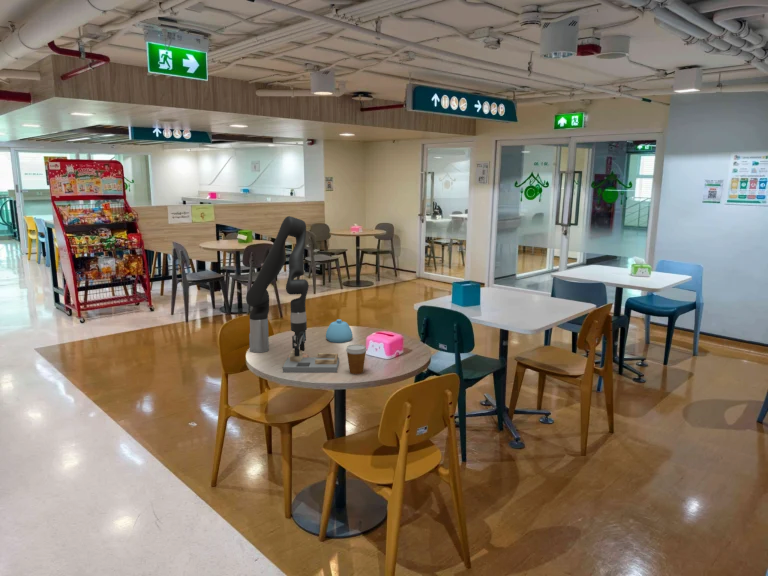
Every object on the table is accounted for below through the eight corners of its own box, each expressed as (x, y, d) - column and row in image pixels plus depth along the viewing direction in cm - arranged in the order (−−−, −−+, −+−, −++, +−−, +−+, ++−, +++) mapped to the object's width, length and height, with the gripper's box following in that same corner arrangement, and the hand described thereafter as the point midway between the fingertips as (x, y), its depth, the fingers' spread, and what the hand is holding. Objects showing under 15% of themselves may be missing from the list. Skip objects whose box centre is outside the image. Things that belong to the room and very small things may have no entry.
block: (289, 361, 268) (289, 353, 268) (292, 358, 273) (292, 350, 273) (300, 361, 268) (300, 353, 267) (302, 358, 273) (302, 350, 272)
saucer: (286, 360, 277) (286, 358, 277) (289, 354, 287) (289, 352, 286) (307, 361, 277) (306, 358, 277) (309, 355, 287) (309, 352, 287)
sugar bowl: (324, 343, 308) (323, 322, 306) (327, 336, 323) (327, 316, 321) (351, 343, 308) (351, 323, 306) (353, 336, 322) (353, 316, 320)
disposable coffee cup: (347, 368, 266) (347, 343, 264) (367, 369, 266) (367, 344, 263) (344, 374, 257) (344, 349, 255) (365, 375, 256) (365, 350, 254)
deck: (282, 372, 260) (282, 367, 260) (288, 362, 275) (287, 357, 274) (336, 372, 260) (336, 367, 260) (339, 362, 275) (339, 357, 275)
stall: (315, 364, 264) (315, 360, 264) (317, 357, 275) (317, 353, 274) (336, 364, 264) (336, 360, 264) (338, 357, 275) (338, 353, 274)
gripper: (301, 324, 261) (303, 358, 264) (310, 317, 275) (311, 349, 277) (286, 324, 262) (287, 357, 265) (295, 317, 276) (296, 349, 279)
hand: (299, 353), depth 271 cm, fingers open, 8 cm apart
